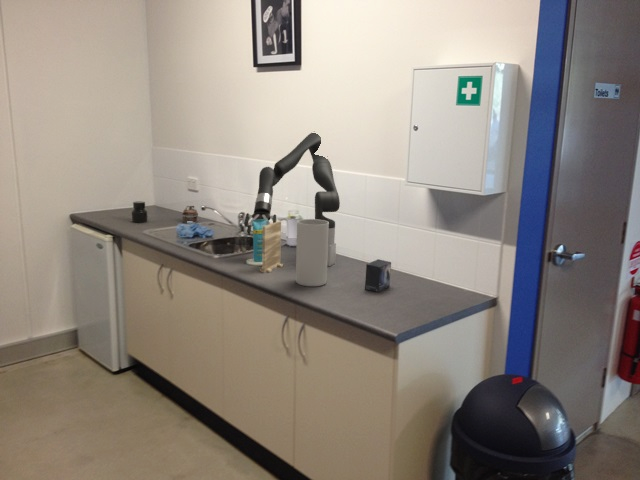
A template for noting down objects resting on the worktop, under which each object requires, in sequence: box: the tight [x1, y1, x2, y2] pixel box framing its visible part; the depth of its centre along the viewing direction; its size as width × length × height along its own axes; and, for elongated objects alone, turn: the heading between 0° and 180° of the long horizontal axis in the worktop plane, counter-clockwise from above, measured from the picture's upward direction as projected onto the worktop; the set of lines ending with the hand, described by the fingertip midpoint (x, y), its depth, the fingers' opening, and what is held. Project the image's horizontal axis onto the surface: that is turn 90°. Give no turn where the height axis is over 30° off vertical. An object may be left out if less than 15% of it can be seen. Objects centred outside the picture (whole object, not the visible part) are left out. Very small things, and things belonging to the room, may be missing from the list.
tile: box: [246, 257, 262, 267], centre depth 261 cm, size 11×11×1 cm
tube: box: [251, 219, 268, 262], centre depth 259 cm, size 7×5×19 cm, turn 125°
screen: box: [259, 220, 284, 274], centre depth 249 cm, size 5×14×20 cm, turn 155°
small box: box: [364, 259, 392, 293], centre depth 227 cm, size 11×6×10 cm, turn 148°
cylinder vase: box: [295, 218, 329, 287], centre depth 230 cm, size 12×12×25 cm
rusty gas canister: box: [181, 205, 199, 224], centre depth 349 cm, size 10×10×10 cm
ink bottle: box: [131, 200, 148, 224], centre depth 345 cm, size 10×9×12 cm
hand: (258, 234), depth 257 cm, fingers open, 8 cm apart
